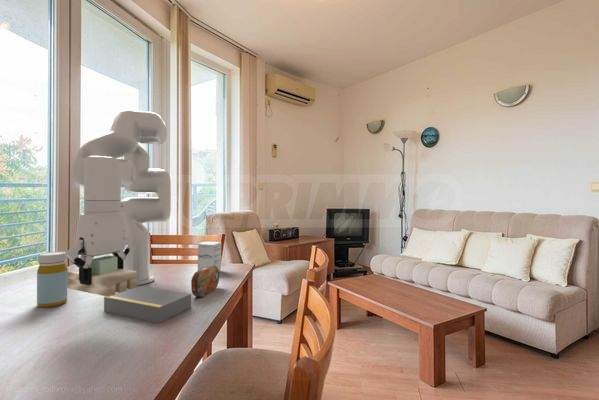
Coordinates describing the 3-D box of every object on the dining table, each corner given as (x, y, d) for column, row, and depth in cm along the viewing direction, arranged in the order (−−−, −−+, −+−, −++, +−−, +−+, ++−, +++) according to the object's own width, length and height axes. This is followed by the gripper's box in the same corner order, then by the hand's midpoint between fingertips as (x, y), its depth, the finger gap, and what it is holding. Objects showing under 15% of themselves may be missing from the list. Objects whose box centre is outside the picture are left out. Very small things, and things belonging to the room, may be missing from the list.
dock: (104, 311, 86) (104, 296, 86) (140, 298, 98) (140, 285, 98) (158, 323, 79) (159, 307, 79) (191, 307, 90) (191, 293, 90)
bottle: (72, 301, 94) (73, 252, 93) (47, 309, 87) (47, 256, 87) (57, 298, 96) (57, 250, 96) (31, 306, 89) (31, 254, 89)
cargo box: (85, 272, 74) (85, 258, 74) (103, 268, 79) (103, 254, 79) (100, 275, 73) (100, 260, 73) (117, 270, 77) (117, 256, 77)
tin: (198, 300, 97) (198, 273, 97) (189, 299, 97) (189, 273, 97) (219, 286, 111) (220, 263, 111) (211, 286, 112) (212, 263, 112)
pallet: (67, 288, 75) (67, 271, 75) (97, 279, 82) (97, 264, 82) (108, 296, 70) (108, 279, 70) (136, 287, 77) (136, 271, 77)
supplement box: (196, 273, 129) (197, 243, 129) (206, 269, 136) (206, 241, 136) (213, 275, 127) (213, 244, 127) (221, 270, 134) (221, 241, 134)
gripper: (123, 205, 85) (123, 269, 85) (53, 208, 68) (53, 287, 69) (144, 206, 82) (143, 272, 82) (76, 210, 66) (76, 292, 66)
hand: (102, 279), depth 76 cm, fingers closed on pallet, 7 cm apart
